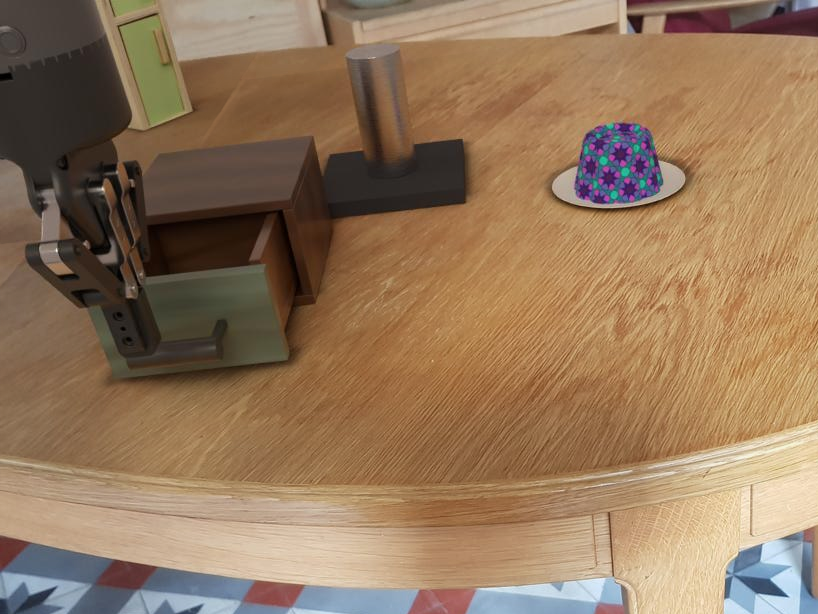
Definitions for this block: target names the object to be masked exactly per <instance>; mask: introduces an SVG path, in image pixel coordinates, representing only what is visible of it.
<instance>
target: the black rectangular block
mask: <svg viewBox="0 0 818 614" xmlns="http://www.w3.org/2000/svg"><path fill="white" fill-rule="evenodd" d="M414 145H415V152H416V158H417V165H418V166H417V169H416V170H415V171H413V172H412V173H410V174H407V175H405V176H401V177H397V178H391V179H377V178H373V177H370V176H369V175H368V174H367V169H366V164H365V158H364V153H363V149H362V150H353V151H346V152H338V153H330V154H329V156H328V159H327V162H326V165H325V168H324V172H323V174H322V178H323V183H324V188H325V192H326V197H327V202H328V206H329V211H330V215H331V219H337V218H338V219H339V218H349V217H357V216H364V215H373V214H374V215H375V214H382V213H390V212H398V211H408V210H416V209H425V208H433V207H434V208H435V207H443V206H451V205H461V204H466V202H467V201H466V200H467V197H466V195H467V194H466V167H465V165H466V164H465V147H464V139H463V138H454V139H445V140H438V141H428V142H420V143H414Z"/></svg>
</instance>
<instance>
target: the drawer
mask: <svg viewBox="0 0 818 614" xmlns="http://www.w3.org/2000/svg"><path fill="white" fill-rule="evenodd" d="M147 229H148V239H149V249H150V260H149V262H142V265H143V268H144V271H145V274H146V283H145V285H144V286H141V287H144V290H145V293H146V296H147V298H148V301H149V304H150V307H151V309H152V312H153V315H154V318H155V321H156V323H157V326H158V329H159V332H160V334H161V341H160V343H159V345H158V347H157V349H156V351H155V353H154V354H153V355H151V356H145V357H136V358H125V357H123V356H121V355H120V354H119V352H118V349H117V347H116V344H115V342H114V339H113V337H112V334H111V332H110V329H109V327H108V324H107V322H106V319H105V316H104V314H103V311H102V309H101V306H100V305H99V306H91V307H89V308H86V310H87V312H88V315H89V318H90V321H91V322H92V325H93V327H94V330H95V333H96V334H97V337H98V340H99V342H100V345H101V347H102V349H103V352H104V354H105V357H106V359H107V362H108V364H109V367H110V370H111V372H112V374H113V377H114V379H115V380H119V379H128V378H136V377H146V376H155V375H165V374H173V373H174V374H175V373H183V372H191V371H200V370H210V369H219V368H227V367H228V368H229V367H237V366H246V365H255V364H265V363H275V362H283V361H288V360H289V356H290V352H291V351H290V348H289V343H288V340H287V336H286V333H285V330H286V326H287V323H288V319H289V315H290V312H291V309H292V306H291V305H292V302H293V299H294V295H295V292H296V288H297V285H298V281H299V275H298V271H297V267H296V263H295V259H294V255H293V251H292V247H291V243H290V239H289V235H288V231H287V227H286V223H285V219H284V215H283V210H277V211H268V212H260V213H251V214H243V215H234V216H226V217H217V218H209V219H200V220H191V221H183V222H174V223H166V224H157V225H149V226H147Z"/></svg>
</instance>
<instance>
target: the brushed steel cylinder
mask: <svg viewBox="0 0 818 614" xmlns="http://www.w3.org/2000/svg"><path fill="white" fill-rule="evenodd" d="M345 61H346V66H347V71H348V76H349V82H350V87H351V93H352V99H353V103H354V104H353V105H354V108H355V114H356V120H357V125H358V131H359V136H360V137H359V138H360V141H361V146H362V150H363V153H364V158H365V164H366V169H367V174H368V175H369V176H370V177H373V178H377V179H391V178H397V177H401V176H405V175H407V174H410V173H412V172H413V171H415V170H416V169H417V166H418V165H417V158H416V152H415V145H414V144H415V140H414V133H413V126H412V119H411V111H410V107H409V100H408V93H407V86H406V80H405V74H404V73H405V72H404V66H403V60H402V53H401V46H400V45H398V44H396V43H390V42H389V43H388V42H387V43H386V42H385V43H372V44H367V45H361V46H358V47H355V48H353V49H350V50H348V51H346V53H345Z"/></svg>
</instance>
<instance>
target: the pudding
mask: <svg viewBox="0 0 818 614" xmlns="http://www.w3.org/2000/svg"><path fill="white" fill-rule="evenodd" d="M685 183H686V175H685V173H684V171H683V170H682V169H681V168H679V167H678V166H676V165H674V164H673V163H669V162H666V161H663V160H659V158H658V154H657V149H656V146H655V142H654V137H653V134H652V132H651V130H649V129H648V128H647V127H645V126H643V125H642V124H639V123H636V122H629V123H628V122H627V123H626V122H612V123H609V124H602V125H601V124H600V125H597V126H595V127H594V128H593V129H591V130H589V131H587V132H586V133H585V135H584V137H583V139H582V143H581V149H580V154H579V159H578V164H577V166H574V167H571V168H570V169H567V170H565V171H563V172H562V173H560V174H559V175H557V177H556V178H555V179H554V180H553V182H552V185H551V190H552V192H553V194H554V195H555V196H557V198H559V199H560V200H563V202H567V203H570V204H572V205H576V206H581V207H588V208H597V209H621V208H629V207H630V208H631V207H637V206H641V205H645V204H649V203H653V202H656V201H660V200H662V199H665V198H667V197H669V196H671V195H673V194H675V193H677V192H678V191H679V190H680V189H681V188H682V187H683V186H684V184H685Z"/></svg>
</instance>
